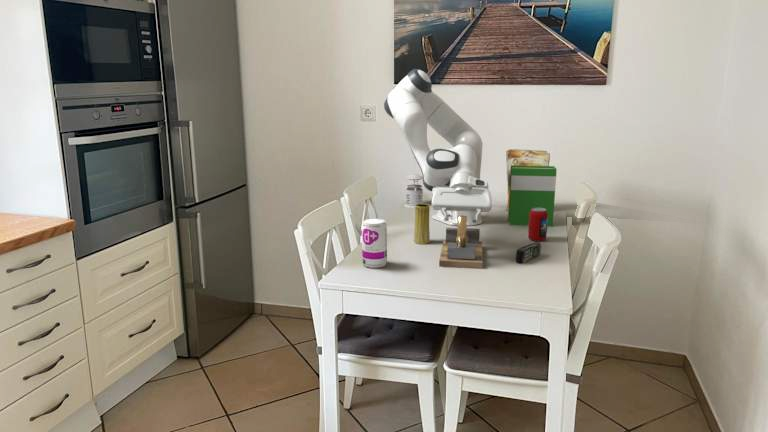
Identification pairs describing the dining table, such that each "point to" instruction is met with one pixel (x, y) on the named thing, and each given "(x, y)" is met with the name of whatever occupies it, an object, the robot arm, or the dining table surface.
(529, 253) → the mobile phone
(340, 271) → the dining table surface
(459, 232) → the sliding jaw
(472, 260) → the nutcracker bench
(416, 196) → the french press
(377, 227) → the supplement can
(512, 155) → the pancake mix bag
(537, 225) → the beverage can
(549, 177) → the hardback book
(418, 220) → the vase
